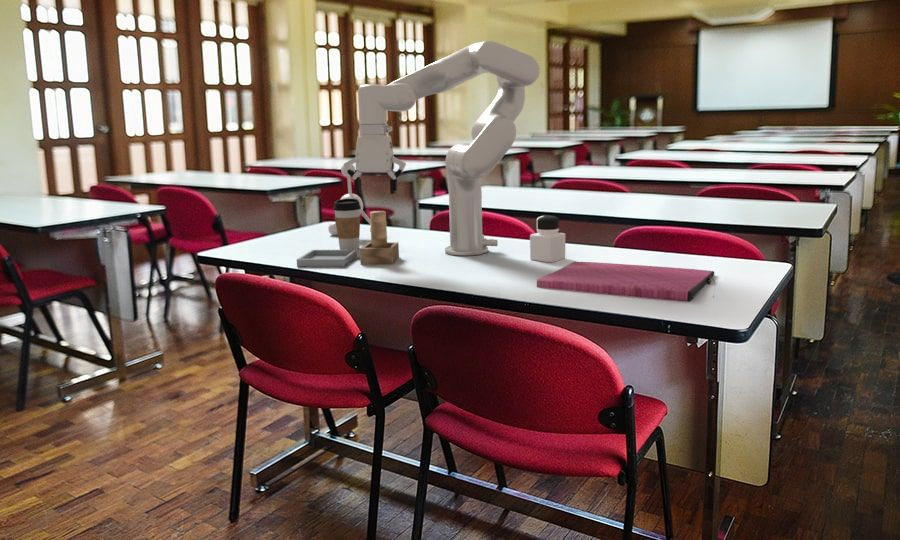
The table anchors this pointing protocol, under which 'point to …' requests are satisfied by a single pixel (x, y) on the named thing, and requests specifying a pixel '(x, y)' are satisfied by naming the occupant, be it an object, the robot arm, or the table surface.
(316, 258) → the tray
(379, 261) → the shallow tan box
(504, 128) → the robot arm
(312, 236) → the table surface
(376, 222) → the dowel
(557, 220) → the medicine bottle
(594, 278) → the maroon flat block
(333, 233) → the molecular model
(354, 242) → the coffee cup
